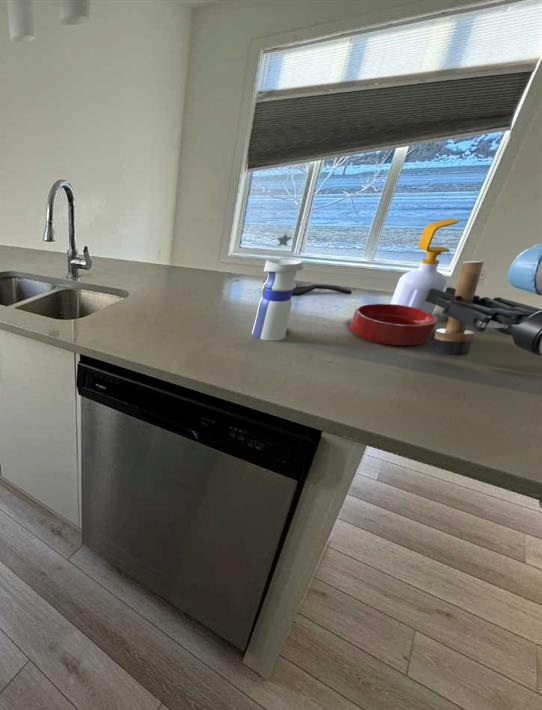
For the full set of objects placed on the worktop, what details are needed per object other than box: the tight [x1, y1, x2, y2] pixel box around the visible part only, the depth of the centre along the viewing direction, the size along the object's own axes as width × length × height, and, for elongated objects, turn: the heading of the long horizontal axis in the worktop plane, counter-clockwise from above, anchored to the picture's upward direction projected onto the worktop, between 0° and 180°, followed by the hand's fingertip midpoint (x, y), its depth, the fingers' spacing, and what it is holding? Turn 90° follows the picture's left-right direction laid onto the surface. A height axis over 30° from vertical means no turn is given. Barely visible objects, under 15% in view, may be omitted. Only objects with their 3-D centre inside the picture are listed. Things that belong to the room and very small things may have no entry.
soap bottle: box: [389, 217, 460, 315], centre depth 103 cm, size 9×9×25 cm
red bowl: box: [349, 302, 439, 346], centre depth 99 cm, size 15×15×6 cm
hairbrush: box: [262, 277, 353, 297], centre depth 130 cm, size 8×4×25 cm
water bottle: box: [251, 232, 304, 342], centre depth 100 cm, size 8×8×25 cm
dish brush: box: [430, 260, 485, 357], centre depth 83 cm, size 6×6×19 cm
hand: (437, 294), depth 87 cm, fingers closed on dish brush, 3 cm apart
